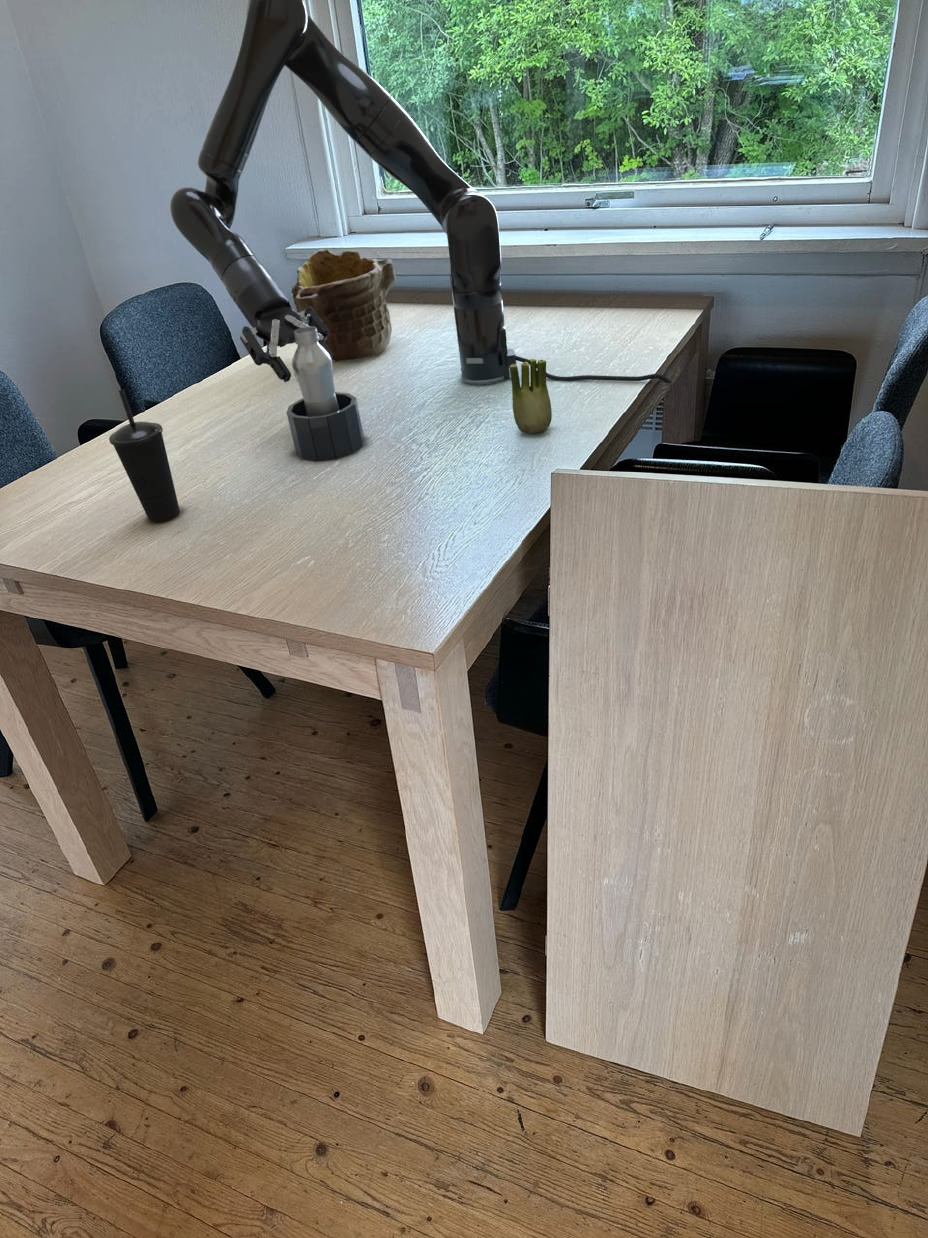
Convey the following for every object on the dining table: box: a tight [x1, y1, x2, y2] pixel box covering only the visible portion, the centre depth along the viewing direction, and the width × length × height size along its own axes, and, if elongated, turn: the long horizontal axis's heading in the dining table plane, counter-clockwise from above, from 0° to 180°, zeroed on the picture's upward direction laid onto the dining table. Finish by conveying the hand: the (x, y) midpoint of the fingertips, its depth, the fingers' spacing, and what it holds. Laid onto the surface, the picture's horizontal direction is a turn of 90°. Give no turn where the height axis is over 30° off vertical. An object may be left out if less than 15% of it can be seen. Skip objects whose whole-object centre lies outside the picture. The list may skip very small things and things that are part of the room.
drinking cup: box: [108, 389, 181, 524], centre depth 130 cm, size 8×8×20 cm
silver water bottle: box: [291, 327, 340, 417], centre depth 145 cm, size 6×7×20 cm
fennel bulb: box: [509, 358, 553, 435], centre depth 142 cm, size 6×5×12 cm
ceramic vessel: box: [291, 248, 397, 362], centre depth 188 cm, size 23×24×25 cm
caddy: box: [285, 391, 365, 462], centre depth 149 cm, size 12×12×8 cm
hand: (309, 370), depth 144 cm, fingers open, 8 cm apart
